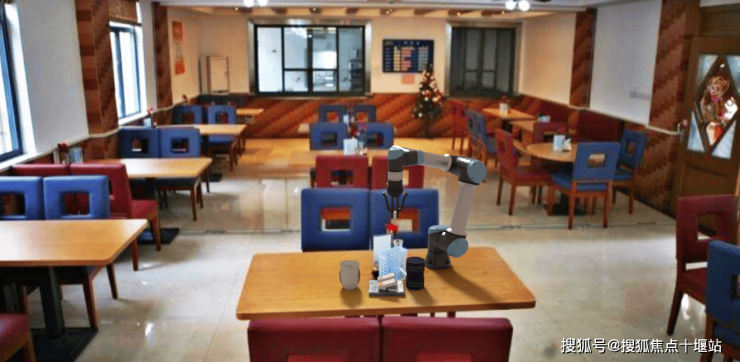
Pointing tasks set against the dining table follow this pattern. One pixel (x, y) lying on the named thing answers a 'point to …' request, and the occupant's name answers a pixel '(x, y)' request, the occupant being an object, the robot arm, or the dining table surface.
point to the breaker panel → (386, 289)
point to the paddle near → (386, 283)
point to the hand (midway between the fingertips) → (394, 224)
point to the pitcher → (349, 274)
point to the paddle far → (386, 277)
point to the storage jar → (415, 273)
